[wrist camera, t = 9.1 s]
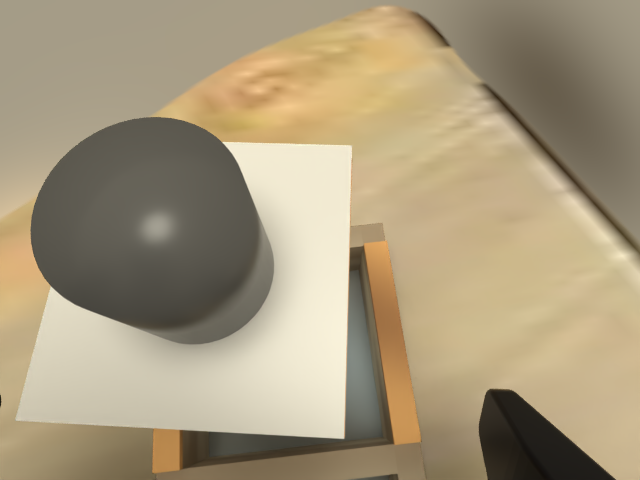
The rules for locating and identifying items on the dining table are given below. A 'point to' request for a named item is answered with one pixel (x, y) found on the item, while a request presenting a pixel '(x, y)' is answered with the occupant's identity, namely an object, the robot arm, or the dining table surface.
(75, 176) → the bottle
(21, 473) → the dining table surface
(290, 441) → the rack
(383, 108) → the dining table surface
